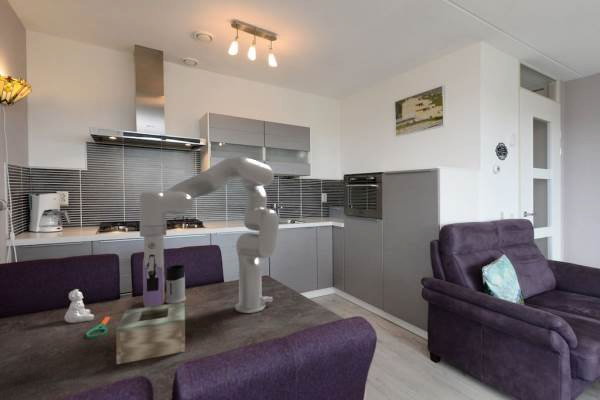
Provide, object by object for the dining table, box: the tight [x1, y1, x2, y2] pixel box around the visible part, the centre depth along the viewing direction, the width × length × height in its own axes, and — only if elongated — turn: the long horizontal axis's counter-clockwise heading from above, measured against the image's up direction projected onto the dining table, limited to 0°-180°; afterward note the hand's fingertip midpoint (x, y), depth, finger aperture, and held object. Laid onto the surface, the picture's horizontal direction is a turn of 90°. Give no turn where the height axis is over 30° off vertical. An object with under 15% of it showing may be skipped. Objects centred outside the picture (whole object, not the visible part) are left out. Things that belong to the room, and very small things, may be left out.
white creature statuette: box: [63, 288, 95, 324], centre depth 112 cm, size 10×9×12 cm
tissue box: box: [115, 301, 186, 365], centre depth 92 cm, size 18×15×10 cm
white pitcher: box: [164, 264, 187, 304], centre depth 131 cm, size 9×14×15 cm, turn 148°
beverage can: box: [142, 258, 165, 308], centre depth 92 cm, size 6×6×15 cm
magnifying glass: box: [85, 316, 111, 339], centre depth 105 cm, size 15×6×2 cm, turn 19°
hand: (153, 287), depth 92 cm, fingers closed on beverage can, 5 cm apart
